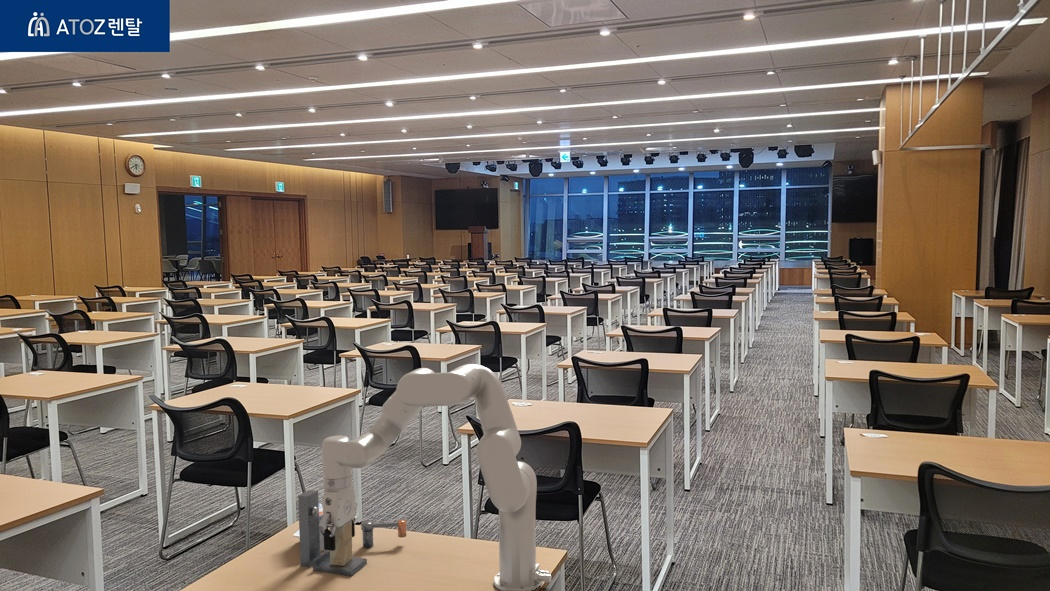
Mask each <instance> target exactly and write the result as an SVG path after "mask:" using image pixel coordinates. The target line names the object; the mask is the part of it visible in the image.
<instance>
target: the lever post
mask: <svg viewBox="0 0 1050 591" xmlns="http://www.w3.org/2000/svg"><path fill="white" fill-rule="evenodd" d="M361 532H362V548H364V549H371V548H373V547H374V529H373V530H370V531H363V530H361Z"/></svg>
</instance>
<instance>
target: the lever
mask: <svg viewBox="0 0 1050 591" xmlns="http://www.w3.org/2000/svg"><path fill="white" fill-rule="evenodd" d="M392 527H395V528H396V527H397V537H398V538H406V537H407V520H406V519H399V520H398V521H385V522H375V521H373V520H364V521H361V523H360V528H361V531H362V530H363V531H370V530H373V531H374V529H376V528H377V529H378V528H379V529H380V528H392Z"/></svg>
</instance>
